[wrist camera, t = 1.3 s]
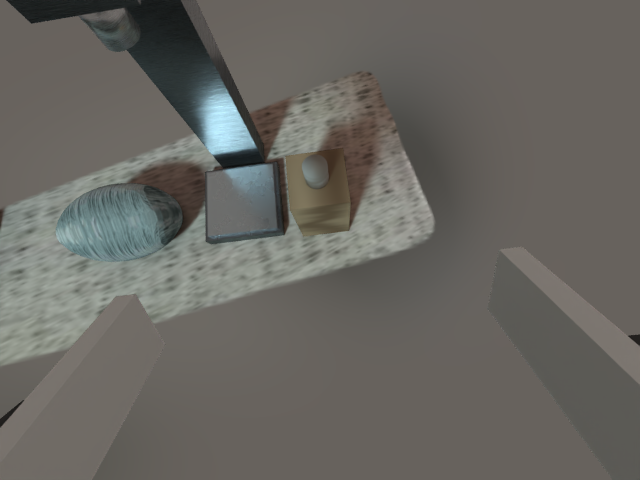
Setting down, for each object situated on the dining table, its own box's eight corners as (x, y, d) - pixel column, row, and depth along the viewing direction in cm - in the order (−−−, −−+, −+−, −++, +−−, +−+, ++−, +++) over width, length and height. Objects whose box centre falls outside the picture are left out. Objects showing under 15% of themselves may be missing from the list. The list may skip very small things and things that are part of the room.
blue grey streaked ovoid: (184, 171, 39) (115, 175, 29) (204, 241, 41) (146, 265, 31) (107, 191, 43) (26, 200, 33) (129, 253, 45) (58, 278, 35)
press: (210, 244, 39) (-119, 66, 11) (209, 151, 43) (-43, -157, 15) (284, 235, 39) (130, 25, 11) (277, 142, 42) (147, -195, 14)
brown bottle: (303, 236, 39) (285, 200, 27) (299, 194, 40) (280, 142, 28) (348, 230, 38) (351, 191, 26) (343, 188, 40) (342, 133, 28)
